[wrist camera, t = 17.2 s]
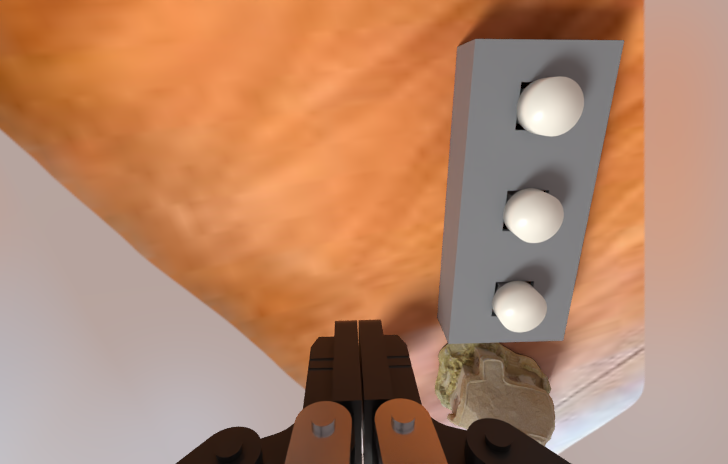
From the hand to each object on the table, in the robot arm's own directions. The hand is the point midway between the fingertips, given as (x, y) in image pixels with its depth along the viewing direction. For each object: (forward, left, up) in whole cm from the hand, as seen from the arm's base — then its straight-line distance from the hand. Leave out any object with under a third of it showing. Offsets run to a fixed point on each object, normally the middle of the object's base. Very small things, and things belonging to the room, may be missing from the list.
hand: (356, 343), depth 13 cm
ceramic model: (+24, +17, -27) cm, 40 cm away
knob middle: (+2, +16, -26) cm, 31 cm away
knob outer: (+11, +16, -26) cm, 33 cm away
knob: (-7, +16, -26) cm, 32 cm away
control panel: (+2, +16, -27) cm, 31 cm away
